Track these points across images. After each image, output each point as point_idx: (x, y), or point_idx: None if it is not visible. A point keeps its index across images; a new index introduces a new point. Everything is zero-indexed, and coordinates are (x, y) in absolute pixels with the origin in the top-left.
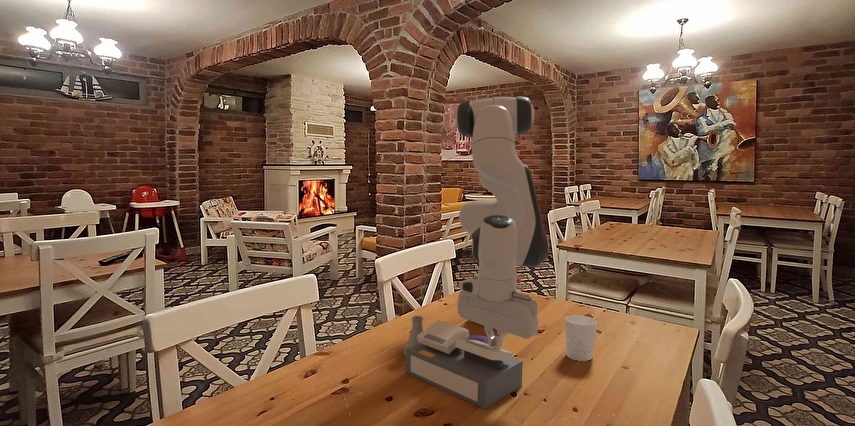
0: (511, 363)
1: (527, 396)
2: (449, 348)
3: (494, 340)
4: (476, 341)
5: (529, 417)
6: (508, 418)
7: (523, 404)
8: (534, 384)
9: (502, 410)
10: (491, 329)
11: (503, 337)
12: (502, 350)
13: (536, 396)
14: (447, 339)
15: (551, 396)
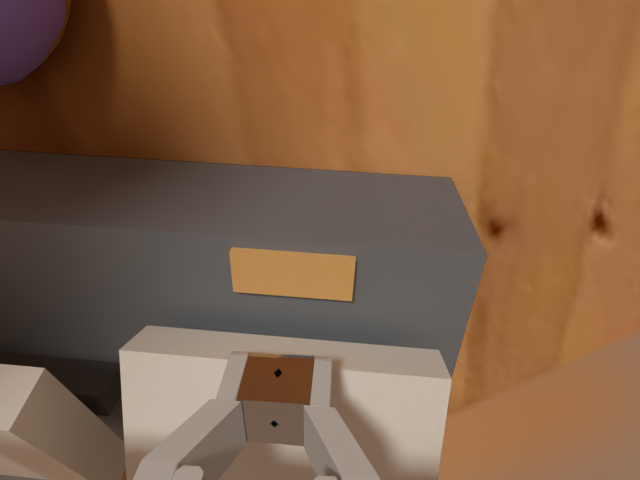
0: (434, 322)
1: (511, 244)
2: (117, 476)
3: (291, 436)
4: (156, 404)
5: (565, 359)
6: (497, 393)
7: (516, 304)
8: (506, 113)
9: (459, 370)
10: (194, 463)
11: (343, 424)
12: (394, 431)
13: (552, 220)
14: (37, 476)
15: (629, 175)
